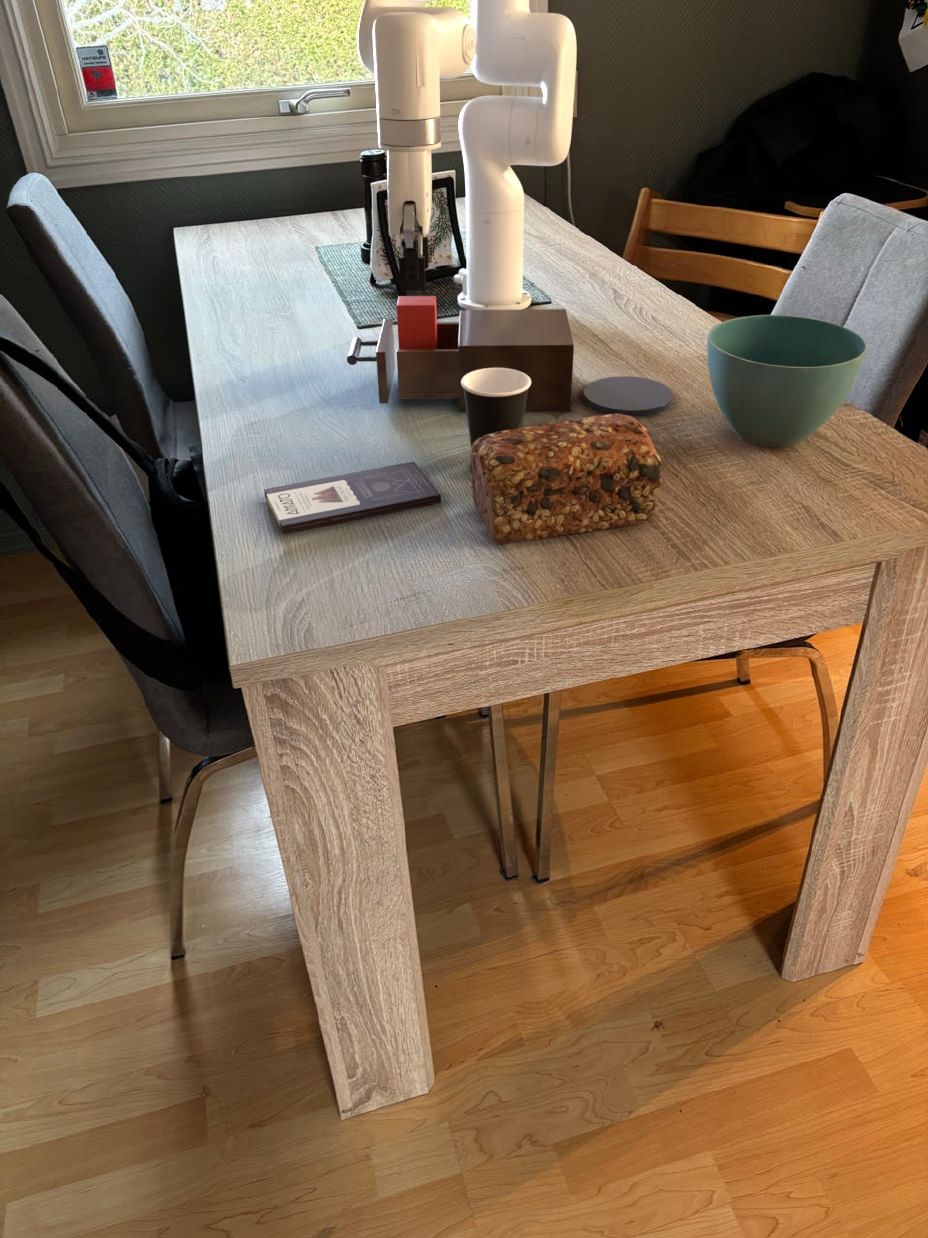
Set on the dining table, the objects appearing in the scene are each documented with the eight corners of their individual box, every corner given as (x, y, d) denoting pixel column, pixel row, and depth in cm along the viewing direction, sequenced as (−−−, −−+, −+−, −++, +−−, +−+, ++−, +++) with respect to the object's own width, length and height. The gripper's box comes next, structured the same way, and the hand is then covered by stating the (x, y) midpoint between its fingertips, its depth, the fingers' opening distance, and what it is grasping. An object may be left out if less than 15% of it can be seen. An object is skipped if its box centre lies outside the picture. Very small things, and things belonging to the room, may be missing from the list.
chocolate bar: (440, 494, 109) (281, 525, 104) (441, 501, 109) (283, 533, 104) (414, 461, 116) (263, 489, 110) (414, 468, 116) (265, 496, 111)
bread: (624, 482, 113) (631, 401, 107) (660, 527, 104) (670, 441, 99) (467, 502, 110) (466, 418, 104) (491, 549, 101) (491, 462, 95)
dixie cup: (536, 479, 114) (539, 389, 107) (470, 487, 112) (469, 397, 106) (518, 450, 120) (520, 364, 114) (455, 457, 119) (454, 370, 112)
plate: (565, 398, 133) (565, 392, 133) (620, 374, 140) (620, 369, 140) (635, 423, 126) (636, 418, 126) (690, 397, 133) (690, 392, 133)
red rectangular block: (400, 382, 133) (396, 305, 127) (402, 371, 137) (398, 295, 131) (437, 382, 133) (434, 304, 127) (438, 371, 136) (435, 295, 130)
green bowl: (762, 478, 113) (781, 377, 106) (666, 422, 126) (677, 328, 119) (876, 446, 120) (901, 348, 113) (774, 395, 133) (790, 305, 126)
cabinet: (459, 411, 130) (458, 345, 125) (461, 371, 142) (460, 309, 137) (570, 410, 130) (574, 344, 125) (562, 370, 142) (565, 308, 136)
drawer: (347, 404, 130) (342, 352, 126) (357, 367, 141) (353, 318, 137) (481, 403, 130) (481, 351, 126) (480, 366, 141) (480, 317, 137)
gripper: (384, 122, 124) (391, 261, 134) (371, 145, 110) (380, 298, 120) (442, 122, 124) (445, 260, 134) (438, 144, 110) (441, 298, 120)
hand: (414, 278), depth 127 cm, fingers open, 9 cm apart
